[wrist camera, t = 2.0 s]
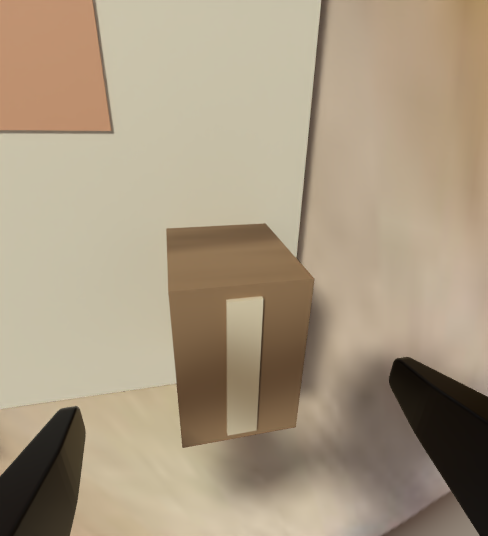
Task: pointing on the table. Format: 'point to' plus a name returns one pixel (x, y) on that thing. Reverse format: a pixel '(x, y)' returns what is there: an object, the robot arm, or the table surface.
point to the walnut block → (236, 330)
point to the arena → (134, 170)
